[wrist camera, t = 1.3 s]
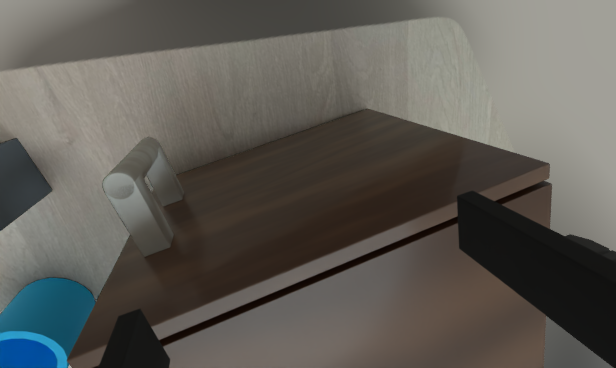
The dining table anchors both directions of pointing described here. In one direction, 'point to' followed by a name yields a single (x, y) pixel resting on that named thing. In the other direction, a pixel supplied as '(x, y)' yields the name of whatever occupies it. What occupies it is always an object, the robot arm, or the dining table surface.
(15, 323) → the mug
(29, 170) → the stand
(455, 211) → the door
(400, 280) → the cupboard
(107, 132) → the dining table surface
